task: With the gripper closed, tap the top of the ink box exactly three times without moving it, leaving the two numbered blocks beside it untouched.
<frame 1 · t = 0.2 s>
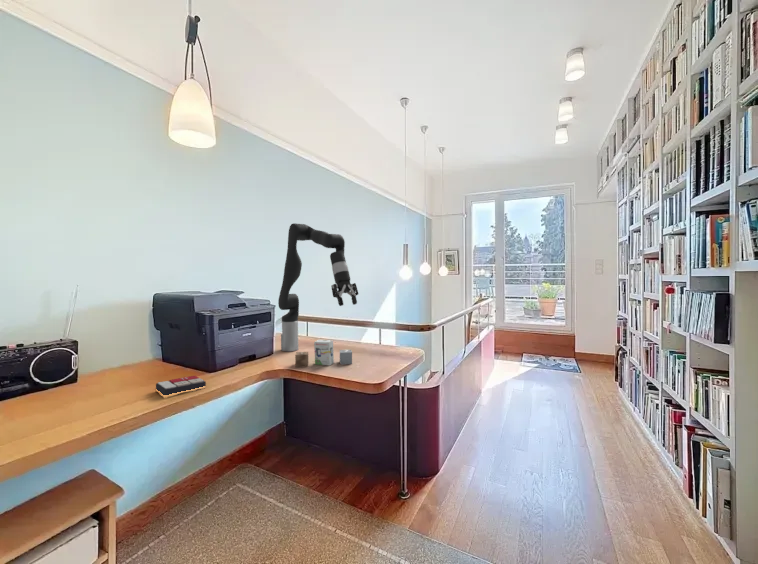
hand: (348, 304, 166), 31 cm above the table, tool tilted 20°, fingers open, 8 cm apart
numbered block seven: (345, 362, 178), on the table
ink box: (324, 364, 176), on the table
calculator: (181, 391, 140), on the table
numbered block one: (302, 365, 174), on the table
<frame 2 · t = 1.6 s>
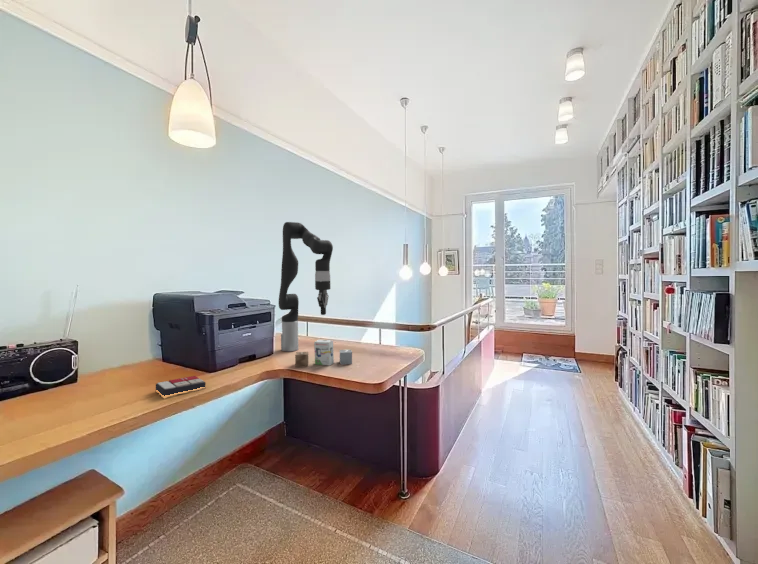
hand: (323, 314, 175), 25 cm above the table, tool pointing down, fingers closed
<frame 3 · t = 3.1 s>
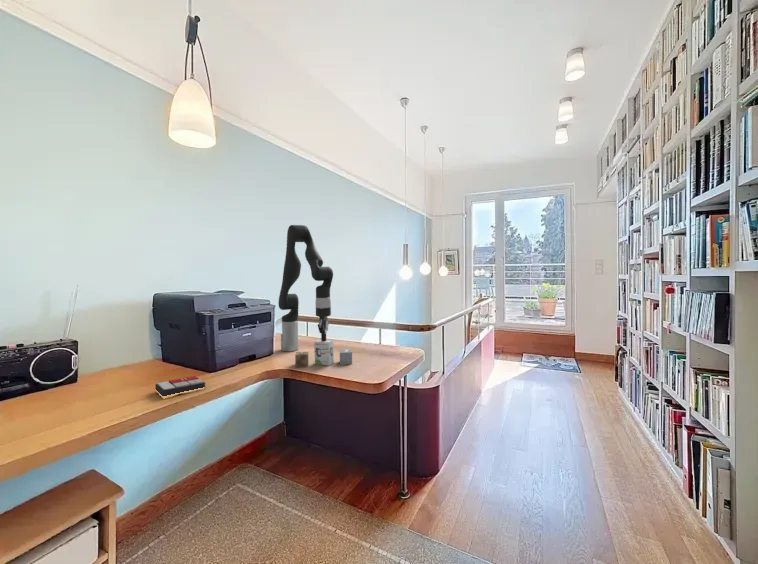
hand: (323, 340, 176), 12 cm above the table, tool pointing down, fingers closed
ink box: (324, 364, 176), on the table, touching gripper
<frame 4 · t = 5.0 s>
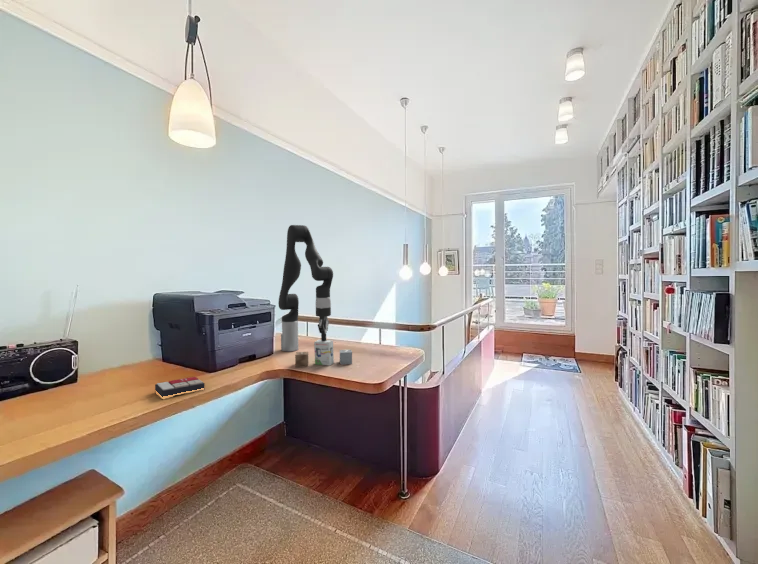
hand: (323, 340, 176), 12 cm above the table, tool pointing down, fingers closed
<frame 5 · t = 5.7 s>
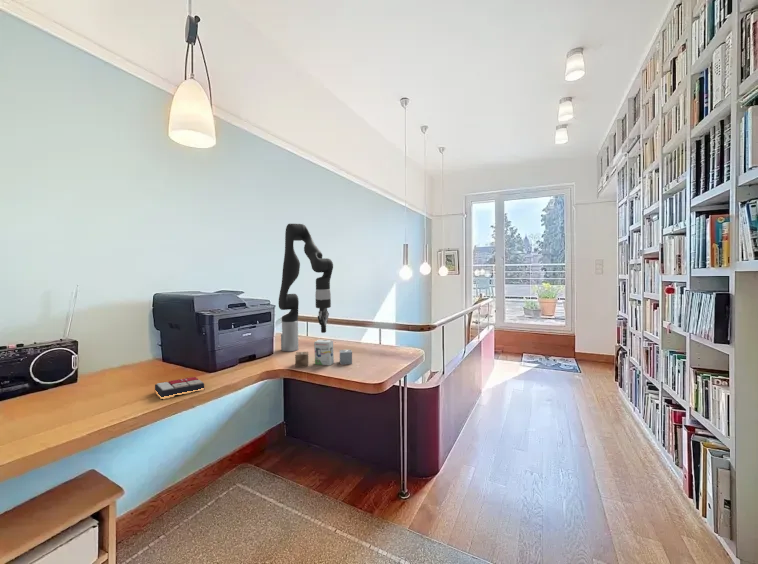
hand: (323, 332, 176), 16 cm above the table, tool pointing down, fingers closed
ink box: (324, 364, 176), on the table
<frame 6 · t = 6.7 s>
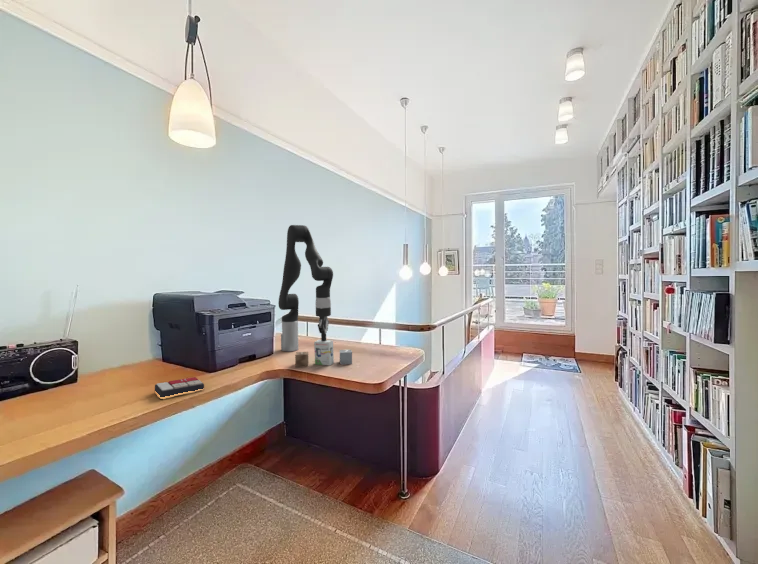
hand: (323, 340, 176), 12 cm above the table, tool pointing down, fingers closed
ink box: (324, 364, 176), on the table, touching gripper
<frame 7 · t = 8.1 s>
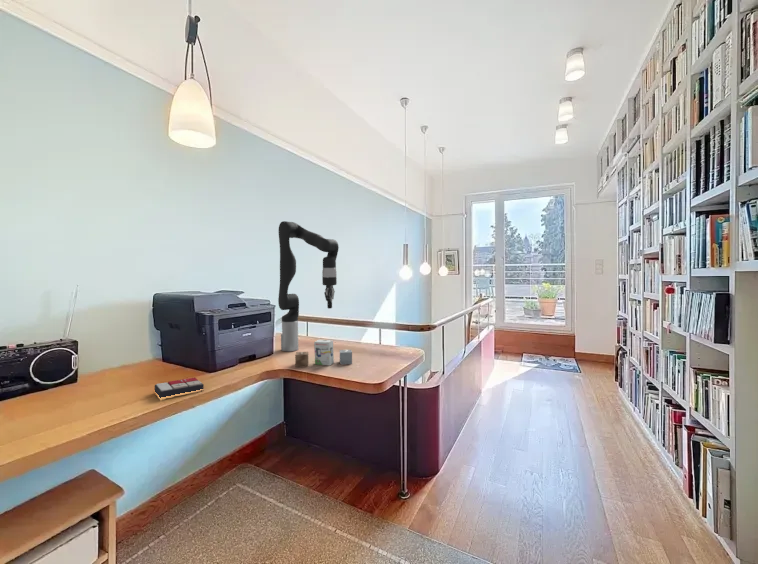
hand: (329, 308, 189), 27 cm above the table, tool pointing down, fingers closed
ink box: (324, 364, 176), on the table
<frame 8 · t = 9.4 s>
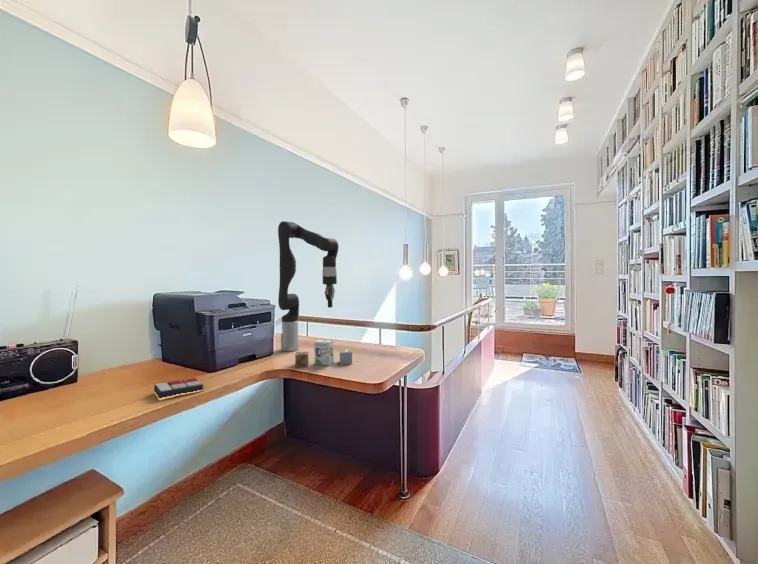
hand: (330, 307, 189), 27 cm above the table, tool pointing down, fingers closed
at the end: ink box moved 0.3 cm from its start; ink box tilted 0°; numbered block seven moved 0.1 cm from its start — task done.
